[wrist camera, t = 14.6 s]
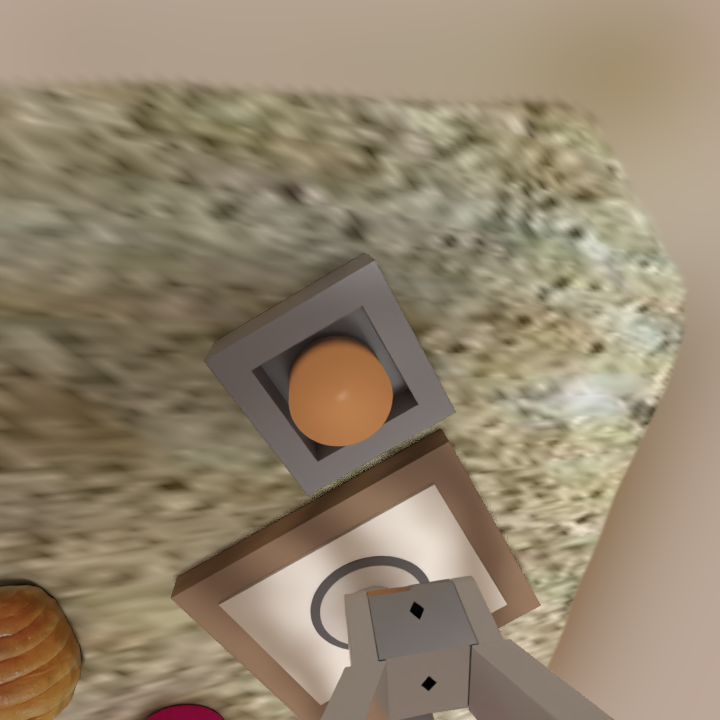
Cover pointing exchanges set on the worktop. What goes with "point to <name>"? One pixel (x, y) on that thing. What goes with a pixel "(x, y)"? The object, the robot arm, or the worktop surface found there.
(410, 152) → the worktop surface
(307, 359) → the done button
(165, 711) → the pepper mill
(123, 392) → the worktop surface
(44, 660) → the pastry
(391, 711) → the robot arm
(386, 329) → the button base
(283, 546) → the board
